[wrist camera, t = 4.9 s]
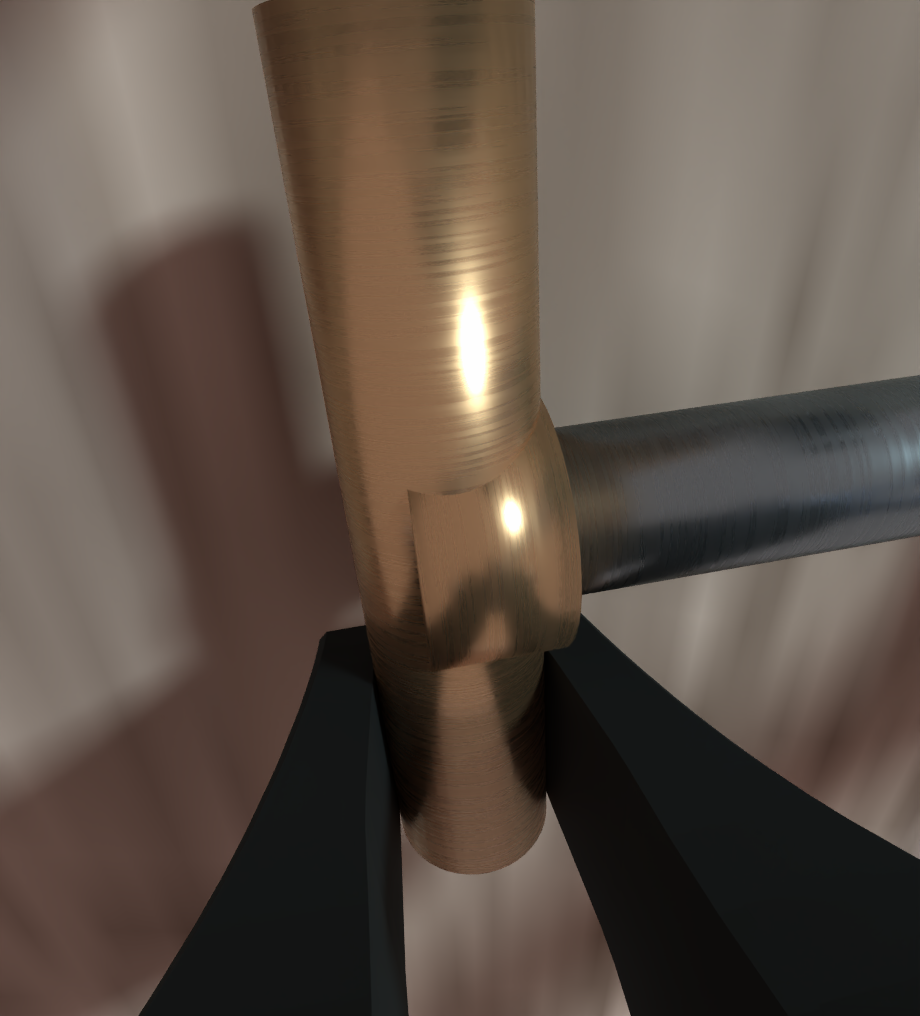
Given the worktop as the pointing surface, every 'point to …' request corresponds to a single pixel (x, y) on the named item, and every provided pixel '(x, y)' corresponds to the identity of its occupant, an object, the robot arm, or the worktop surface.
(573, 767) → the robot arm
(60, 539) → the worktop surface
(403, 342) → the t-handle rod
